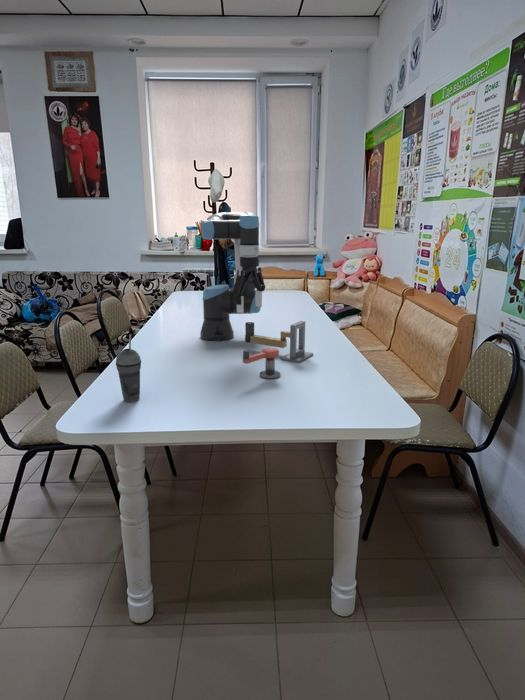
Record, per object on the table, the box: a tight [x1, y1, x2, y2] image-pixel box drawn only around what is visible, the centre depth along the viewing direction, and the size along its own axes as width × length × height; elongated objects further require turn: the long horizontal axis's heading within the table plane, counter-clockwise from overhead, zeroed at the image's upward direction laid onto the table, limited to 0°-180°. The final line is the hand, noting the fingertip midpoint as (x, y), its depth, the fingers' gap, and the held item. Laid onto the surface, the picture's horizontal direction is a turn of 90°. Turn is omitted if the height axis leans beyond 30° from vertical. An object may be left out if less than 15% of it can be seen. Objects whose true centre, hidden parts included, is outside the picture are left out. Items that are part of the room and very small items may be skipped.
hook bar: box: [244, 321, 290, 349], centre depth 179 cm, size 21×4×8 cm, turn 58°
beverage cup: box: [115, 334, 142, 403], centre depth 130 cm, size 7×7×20 cm
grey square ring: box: [280, 320, 314, 364], centre depth 172 cm, size 8×12×14 cm, turn 148°
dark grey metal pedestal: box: [259, 358, 281, 380], centre depth 153 cm, size 7×7×7 cm
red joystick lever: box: [242, 347, 280, 365], centre depth 148 cm, size 15×6×4 cm, turn 137°
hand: (249, 309), depth 181 cm, fingers open, 13 cm apart
